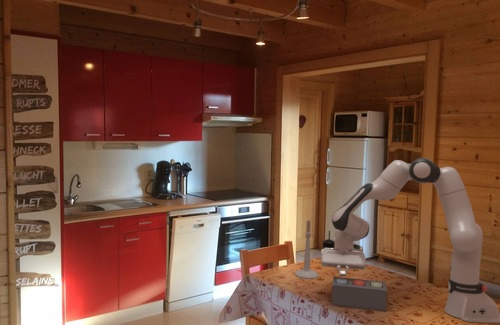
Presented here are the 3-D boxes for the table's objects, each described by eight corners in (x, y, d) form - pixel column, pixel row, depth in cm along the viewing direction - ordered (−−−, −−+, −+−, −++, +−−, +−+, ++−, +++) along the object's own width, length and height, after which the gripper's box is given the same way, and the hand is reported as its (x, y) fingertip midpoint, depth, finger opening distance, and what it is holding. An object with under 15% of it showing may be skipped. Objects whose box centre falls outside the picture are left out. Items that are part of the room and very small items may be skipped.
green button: (381, 290, 192) (381, 282, 192) (382, 293, 187) (382, 285, 187) (370, 288, 193) (370, 281, 193) (370, 292, 188) (371, 284, 188)
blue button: (347, 286, 196) (347, 278, 195) (346, 289, 191) (347, 282, 191) (336, 285, 197) (336, 277, 196) (336, 288, 192) (336, 280, 192)
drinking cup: (330, 262, 256) (331, 229, 255) (337, 265, 249) (338, 231, 248) (319, 263, 254) (320, 229, 253) (325, 267, 247) (327, 232, 246)
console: (384, 301, 195) (384, 281, 195) (385, 311, 184) (386, 290, 183) (332, 295, 201) (333, 276, 200) (331, 304, 189) (332, 284, 189)
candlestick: (293, 271, 237) (295, 217, 236) (317, 272, 237) (319, 218, 235) (295, 278, 224) (297, 221, 223) (320, 279, 224) (322, 222, 222)
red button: (364, 288, 194) (364, 280, 194) (364, 291, 189) (364, 283, 189) (353, 287, 195) (353, 279, 195) (353, 290, 190) (353, 282, 190)
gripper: (321, 243, 202) (319, 270, 193) (366, 246, 198) (366, 274, 189) (321, 250, 207) (319, 276, 198) (365, 254, 202) (365, 281, 193)
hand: (342, 275), depth 193 cm, fingers closed
